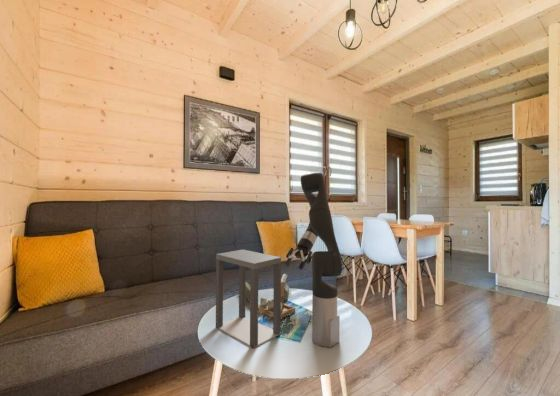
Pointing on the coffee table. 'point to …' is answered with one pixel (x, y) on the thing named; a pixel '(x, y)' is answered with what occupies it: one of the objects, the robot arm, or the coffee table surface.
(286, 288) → the digital clock
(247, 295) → the handheld radio
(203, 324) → the coffee table surface
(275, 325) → the grey stool
